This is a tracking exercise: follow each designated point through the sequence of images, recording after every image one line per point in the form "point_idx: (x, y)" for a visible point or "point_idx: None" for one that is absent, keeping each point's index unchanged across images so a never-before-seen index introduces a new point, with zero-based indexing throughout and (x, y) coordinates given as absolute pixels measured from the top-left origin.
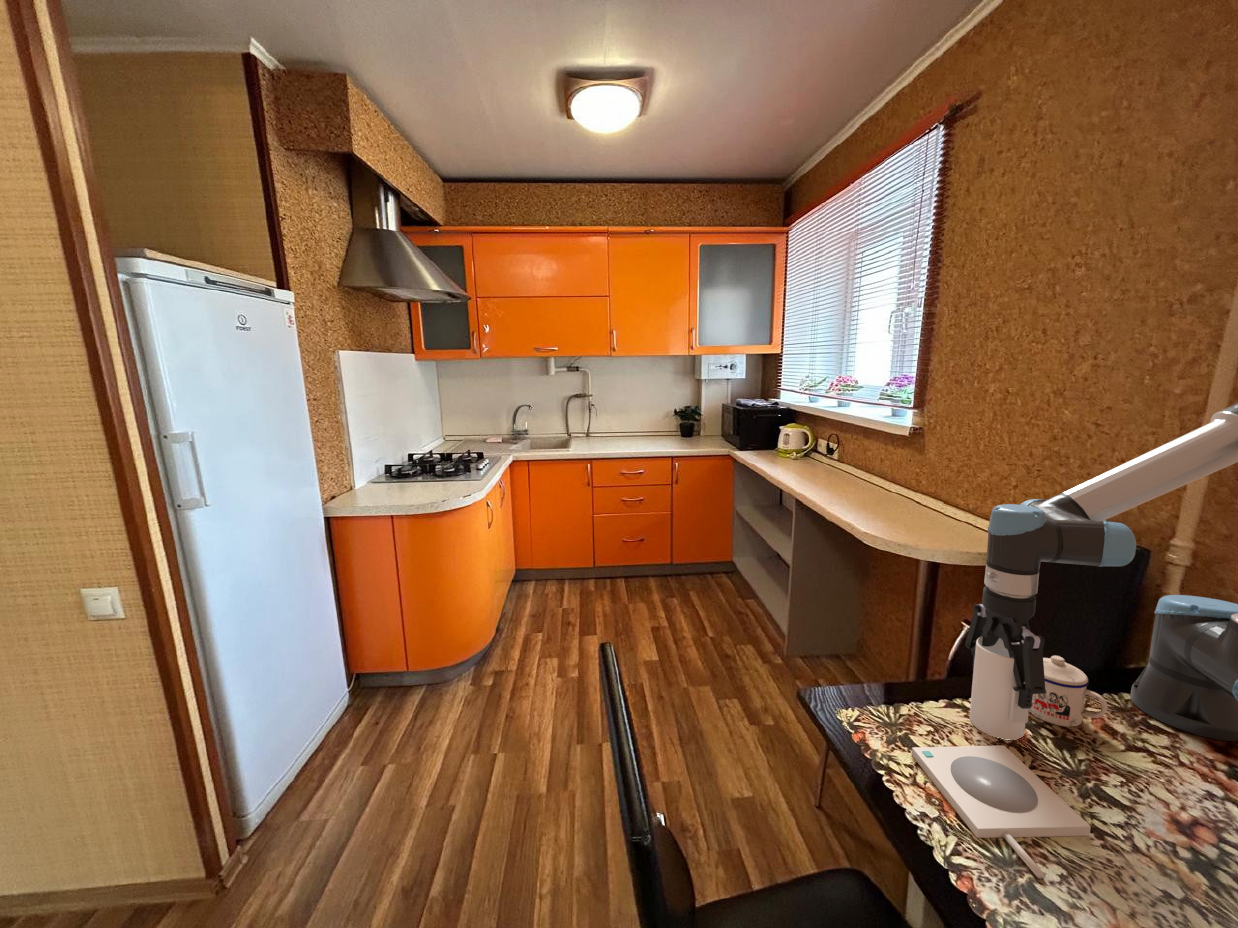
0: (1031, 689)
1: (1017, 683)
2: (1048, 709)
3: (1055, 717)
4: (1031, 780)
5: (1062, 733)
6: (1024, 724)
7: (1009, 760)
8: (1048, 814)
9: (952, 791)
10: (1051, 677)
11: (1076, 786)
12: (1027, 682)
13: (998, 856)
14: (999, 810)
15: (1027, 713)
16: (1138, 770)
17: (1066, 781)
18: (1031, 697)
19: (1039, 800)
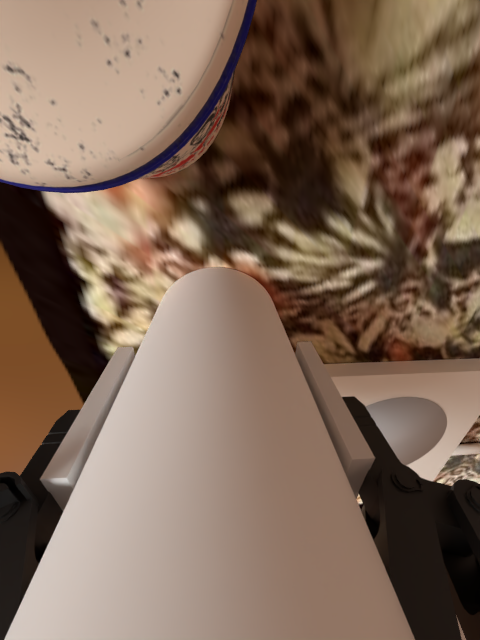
0: (472, 555)
1: (372, 535)
2: (199, 150)
3: (217, 131)
4: (404, 387)
5: (260, 148)
6: (273, 308)
7: (352, 391)
8: (463, 408)
9: None
10: (165, 118)
11: (422, 293)
12: (467, 594)
13: (449, 461)
14: (425, 454)
15: (322, 364)
16: (466, 26)
17: (405, 302)
18: (386, 445)
19: (439, 402)
